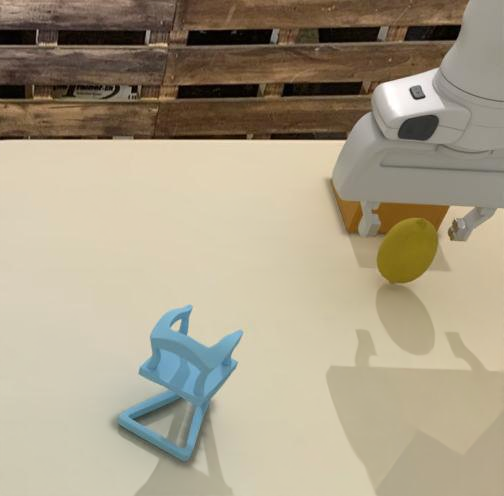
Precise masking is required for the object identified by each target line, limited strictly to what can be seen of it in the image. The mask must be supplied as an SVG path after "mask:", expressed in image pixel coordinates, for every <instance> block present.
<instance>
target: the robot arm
mask: <svg viewBox="0 0 504 496" xmlns="http://www.w3.org/2000/svg"><path fill="white" fill-rule="evenodd" d="M370 104H371V110H370V111H369V112H367V113H366V114H363V116H362V117H361V118H359V120H357V122H356V123H355V124H354V126H353V127H352V129H351V130H350V133H349V134H348V136H347V138H346V140H345V142H344V144H343V146H342V148H341V150H340V151H339V153H338V157H337V159H336V161H335V164H334V166H333V168H332V173H331V178H332V180H333V184H334V187H335V190H336V192H337V194H338V195H339V197H340V198H341V199H342V200H345V201H360V203H361V208H362V212H363V216H362V219H361V221H360V223H359V226H358V231H359V232H358V234H359V237H360V238H361V237H362V238H363V237H364V238H376V237H377V235H378V233H377V231H378V230H379V228H380V226H381V222H380V220H378V219H379V217H378V214H372V211H371V209H373V210H377V209H378V207H379V205H380V203H381V202H386V203H406V204H426V205H446V206H450V207H466V208H467V207H469V208H470V207H471V208H472V209H471V210H470V211H468V212H467V214H465V215H464V216H463V217H455V218H453V220H452V222H451V226H449V228H448V230H447V237H448V238H449V240H450V242H462V243H463V242H465V243H466V242H467V241H468V240H469V238H470V236H471V234H472V232H473V231H474V230H476V229H477V228H479V226H481V225H483V224H484V223H485V222H486V221H488V220H489V219H490V218H492V217H494V215H495V213H496V212H497V209H504V0H469V1H468V3H467V5H466V7H465V9H464V12H463V15H462V20H461V26H460V30H459V33H458V36H457V38H456V40H455V41H454V43H453V45H452V46H451V47H450V49H449V50H448V51H447V52H446V54H445V55H444V57H443V59H442V61H441V63H440V65H439V66H438V67H436V68H433V69H430V70H426V71H423V72H420V73H416V74H413V75H410V76H406V77H402V78H398V79H394V80H389V81H385V82H382V83H380V84H379V85H377V86H376V87H375V88H374V90H373V91H372V95H371V98H370Z"/></svg>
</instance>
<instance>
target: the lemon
mask: <svg viewBox="0 0 504 496" xmlns="http://www.w3.org/2000/svg"><path fill="white" fill-rule="evenodd" d="M438 235H439V234H438V231H436V229H435V228H434V226H433V225H432V224H431V223H430V222H428V221H427V220H425V219H424V218H409V219H406V220H403V221H401V222H399V223H398V224H396V225H395V226H394V227H392V229H391V230H390V231H389V232H388V233H386V235H385V236H384V238H383V239H382V241H381V242H380V245H379V247H378V250H377V254H376V265H377V269H378V272H379V273H380V275H381V276H382V277H383V278H384V279H385V280H387V281H388V282H389V283H390V284H406V283H411V282H413V281H415V280H417V279H419V278H420V277H422V275H423V274H424V273H426V271H428V269H429V268H430V266H432V263H433V261H434V259H435V256H436V254H437V251H438V246H439V236H438Z"/></svg>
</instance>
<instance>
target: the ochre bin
mask: <svg viewBox="0 0 504 496" xmlns="http://www.w3.org/2000/svg"><path fill="white" fill-rule="evenodd" d="M330 183H331V187H332V190H333V192H334V195H335V198H336V203H337V204H338V208H339V211H340V214H341V217H342V220H343V222H344V226H345V229H346V232H347V233H359V231H358V226H359V223H360V221H361V219H362V216H363V212H362V208H361V203H360V201H345V200H342V199H341V198H340V197H339V195H338V194H337V192H336V190H335V187H334V184H333V180H332V177H331V178H330ZM450 208H451V206H446V205H426V204H406V203H386V202H381V203H380V205H379V207H378V209H377V210H373V209H371V211H372V214H378V217H379V219H378V220H380V222H381V226H380V228H379V230H378V231H377V234H387V233H388V232H389V231H390V230H391V229H392V227H394V226H395V225H396V224H398V223H399V222H401V221H403V220H406V219H409V218H424V219H425V220H427V221H428V222H430V223H431V224H432V225H433V226H434V228H435V229H436V231H437V232H438V231H439V229H440V227H441V226H442V223H443V221H444V219H445V218H446V215H447V213H448V211H449V209H450Z"/></svg>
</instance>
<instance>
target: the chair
mask: <svg viewBox="0 0 504 496" xmlns="http://www.w3.org/2000/svg"><path fill="white" fill-rule="evenodd" d="M193 309H194V305H193V304H186V305H185V306H183V307H179V308H174V309H170V310H169V311H166V312H165V313H164V314H163V315H161V317H160V318H159V319H158V321H157V322H156V324H155V325H154V327H153V329H152V330H151V332H150V335H149V340H150V347H151V356H150V357H149V358H148V359H146V361H144V362H143V363H142V364H141V365H140V366H139V368H138V373H137V374H138V375H139V376H141V377H143V378H144V379H146V380H148V381H150V382H152V383H154V384H157V385H158V386H162V387H164V388H165V389H166V391H164V392H162V393H160V394H157V395H156V396H153V397H150V398H149V399H146V400H145V401H143V402H140V403H138V404H136V405H134V406H132V407H130V408H128V409H126V410H124V411H122V413H120V415H119V416H118V420H117V424H118V425H119V426H120V427H122V428H124V429H125V430H128V431H129V432H130V433H133V434H134V435H136V436H138V437H139V438H141V439H143V440H144V441H147V442H148V443H149V444H152V445H153V446H155V447H157V448H159V449H161V450H162V451H164V452H166V453H167V454H169V455H170V456H173V457H175V458H176V459H178V460H180V461H182V462H187V461H189V459H190V458H191V456H192V453H193V452H194V449H195V445H196V442H197V439H198V436H199V432H200V429H201V426H202V422H203V421H204V416H205V414H206V412H207V410H208V407H209V405H210V404H211V403H210V402H211V399H212V398H213V397H214V396H215V395H216V394H217V393H218V392H219V390H220V389H221V388H222V387H223V386H224V385H225V383H226V382H227V380H228V379H229V378H230V377H231V375H232V373H233V372H234V371H235V370H236V369H237V366H238V364H239V361H238V360H236V359H235V358H232V355H233V352H234V351H235V349H236V348H237V346H238V345H239V343H240V341H241V339H242V338H243V335H244V331H243V330H242V329H237V330H236V331H234V332H233V333H230V334H227V335H225V336H222V337H221V339H219V340H218V342H216V343H215V344H214V345H211V346H207V345H205V344H203V343H201V342H200V341H198V340H196V339H194V338H193V337H191V336H190V335H188V333H189V325H190V316H191V313H192V311H193ZM180 320H181V322H180V325H179V329H178V330H174V329H172V327H173V325H174V324H175V323H176V322H178V321H180ZM181 398H182V399H184V400H185V401H186V402H188V403H190V404H192V405H194V406H195V408H194V412H193V416H192V420H191V424H190V427H189V430H188V435H187V439H186V442H185V446H184V447H180V446H179V445H177V444H176V443H174V442H172V441H171V440H169V439H167V438H165V437H163V436H162V435H160V434H158V433H157V432H155V431H153V430H152V429H149V428H148V427H146V426H144V425H143V424H141V423H139V422H137V421H136V420H134V419H136V418H139V417H141V416H143V415H145V414H148V413H151V412H153V411H155V410H157V409H160V408H163V407H164V406H167V405H169V404H171V403H173V402H175V401H177V400H179V399H181Z"/></svg>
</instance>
